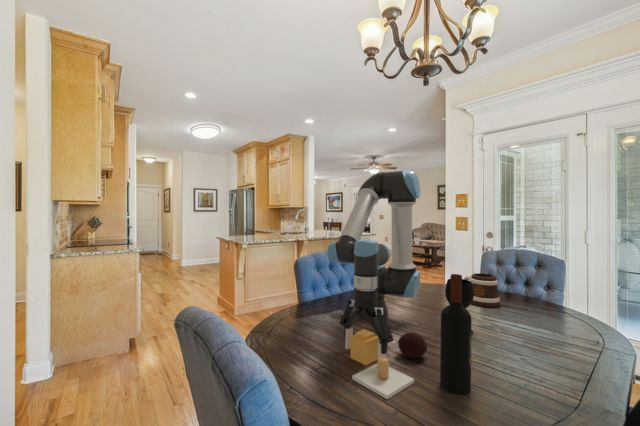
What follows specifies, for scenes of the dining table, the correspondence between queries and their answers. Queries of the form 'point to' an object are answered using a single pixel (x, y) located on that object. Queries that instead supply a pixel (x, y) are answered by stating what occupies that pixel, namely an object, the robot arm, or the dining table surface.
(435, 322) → the dining table surface
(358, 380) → the post plate
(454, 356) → the wine bottle
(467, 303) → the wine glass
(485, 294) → the mug
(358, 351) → the orange block
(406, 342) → the potato
